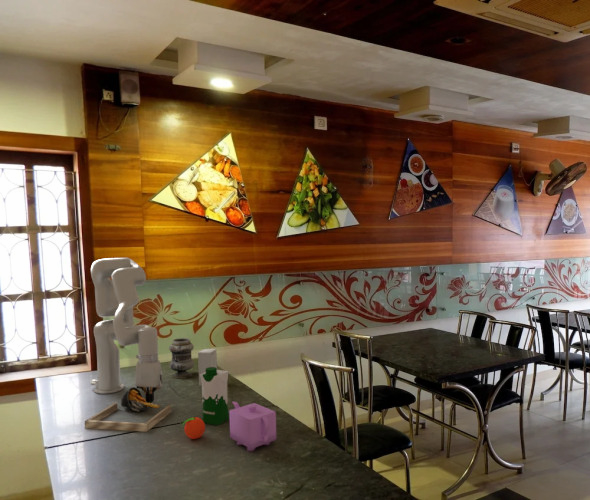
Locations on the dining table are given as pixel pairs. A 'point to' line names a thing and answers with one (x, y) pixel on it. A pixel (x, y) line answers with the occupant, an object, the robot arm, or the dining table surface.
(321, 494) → the dining table surface
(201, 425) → the clementine
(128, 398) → the fried shrimp in bowl
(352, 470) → the dining table surface
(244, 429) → the teapot
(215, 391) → the milk carton
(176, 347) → the apothecary jar
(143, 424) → the serving frame
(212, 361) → the skincare box
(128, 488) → the dining table surface
